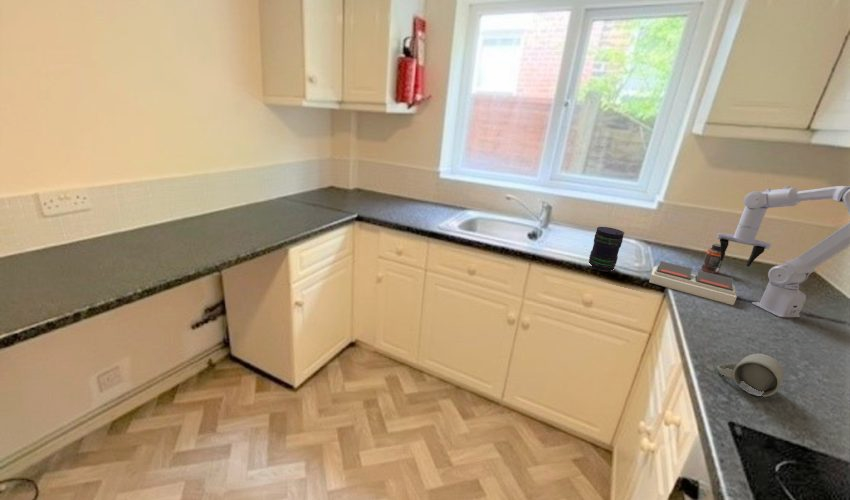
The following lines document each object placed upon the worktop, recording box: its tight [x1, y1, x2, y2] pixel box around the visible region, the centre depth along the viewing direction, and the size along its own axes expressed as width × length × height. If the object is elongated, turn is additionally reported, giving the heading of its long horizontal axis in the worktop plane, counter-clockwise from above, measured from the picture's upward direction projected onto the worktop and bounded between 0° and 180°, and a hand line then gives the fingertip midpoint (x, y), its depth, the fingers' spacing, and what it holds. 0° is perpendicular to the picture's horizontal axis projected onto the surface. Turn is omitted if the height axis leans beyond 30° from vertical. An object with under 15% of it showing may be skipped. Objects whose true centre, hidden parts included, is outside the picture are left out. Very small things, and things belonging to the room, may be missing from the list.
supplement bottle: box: [701, 243, 726, 275], centre depth 155 cm, size 6×6×11 cm
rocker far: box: [657, 260, 693, 280], centre depth 139 cm, size 10×7×1 cm
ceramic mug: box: [717, 353, 784, 398], centre depth 85 cm, size 11×8×8 cm
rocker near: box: [696, 269, 734, 291], centre depth 133 cm, size 10×7×1 cm
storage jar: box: [588, 226, 625, 272], centre depth 148 cm, size 10×10×15 cm
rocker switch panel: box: [648, 264, 737, 306], centre depth 137 cm, size 25×12×4 cm, turn 55°
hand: (734, 262), depth 136 cm, fingers open, 7 cm apart
